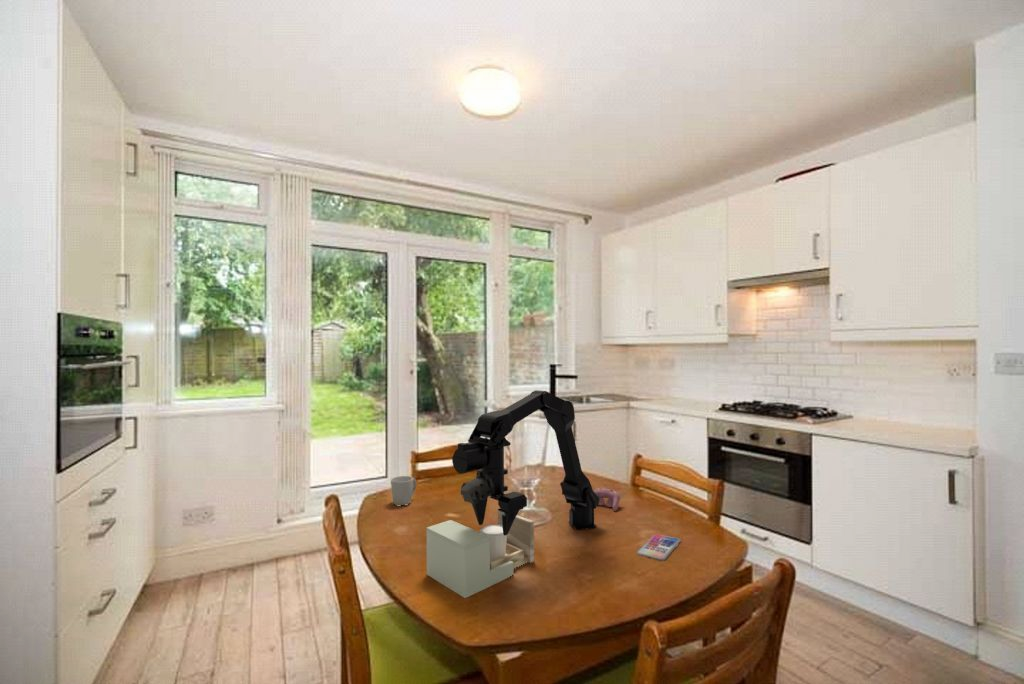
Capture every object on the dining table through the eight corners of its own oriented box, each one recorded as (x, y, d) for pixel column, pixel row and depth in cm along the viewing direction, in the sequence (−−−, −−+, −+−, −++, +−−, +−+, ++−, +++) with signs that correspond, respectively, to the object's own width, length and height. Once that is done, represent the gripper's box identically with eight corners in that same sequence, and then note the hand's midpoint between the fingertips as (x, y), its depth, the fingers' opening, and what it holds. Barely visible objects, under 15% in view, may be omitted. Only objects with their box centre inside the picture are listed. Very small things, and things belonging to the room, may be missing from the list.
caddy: (474, 555, 119) (473, 512, 119) (513, 575, 109) (513, 527, 109) (426, 574, 109) (426, 527, 109) (465, 598, 99) (464, 546, 99)
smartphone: (635, 552, 119) (654, 533, 131) (635, 556, 119) (655, 536, 131) (664, 559, 115) (681, 538, 127) (664, 563, 115) (681, 542, 127)
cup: (386, 504, 159) (385, 479, 159) (408, 496, 167) (408, 473, 167) (401, 509, 154) (401, 483, 154) (423, 500, 162) (423, 476, 163)
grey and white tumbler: (510, 553, 117) (510, 525, 117) (504, 566, 110) (503, 536, 110) (484, 551, 118) (484, 523, 118) (476, 563, 111) (476, 534, 112)
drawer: (501, 547, 124) (501, 509, 124) (534, 561, 115) (533, 521, 115) (461, 563, 115) (460, 522, 115) (493, 580, 106) (493, 536, 106)
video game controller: (619, 513, 153) (622, 491, 155) (615, 511, 149) (618, 489, 152) (591, 508, 158) (594, 487, 161) (586, 505, 154) (590, 484, 157)
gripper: (443, 465, 115) (443, 528, 115) (493, 480, 102) (493, 551, 102) (477, 457, 123) (478, 516, 123) (528, 470, 110) (528, 537, 109)
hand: (492, 529), depth 114 cm, fingers open, 9 cm apart
